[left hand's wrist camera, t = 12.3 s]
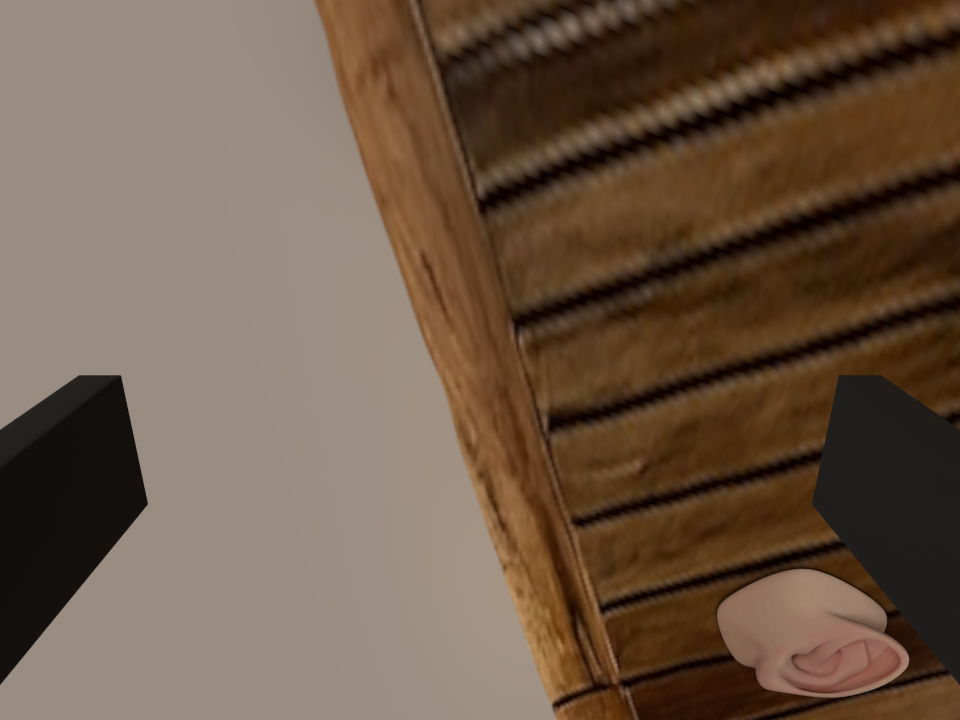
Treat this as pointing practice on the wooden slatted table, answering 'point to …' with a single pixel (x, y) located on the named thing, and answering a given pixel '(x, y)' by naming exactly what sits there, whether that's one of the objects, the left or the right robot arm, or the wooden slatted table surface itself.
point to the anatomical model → (810, 635)
